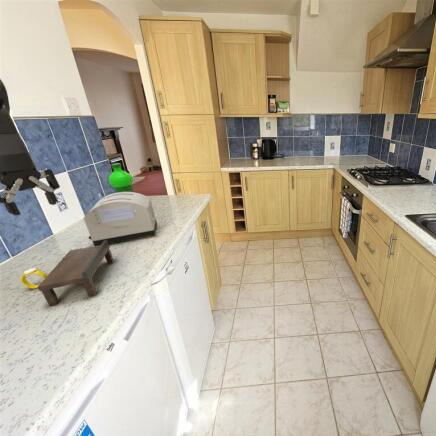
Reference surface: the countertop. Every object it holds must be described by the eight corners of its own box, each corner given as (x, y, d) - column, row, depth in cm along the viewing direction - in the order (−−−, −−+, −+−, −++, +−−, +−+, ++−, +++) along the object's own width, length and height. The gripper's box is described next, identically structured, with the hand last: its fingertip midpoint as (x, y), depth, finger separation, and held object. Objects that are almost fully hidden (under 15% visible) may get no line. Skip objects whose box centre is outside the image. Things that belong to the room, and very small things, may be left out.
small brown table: (48, 306, 66) (34, 282, 63) (77, 267, 83) (68, 246, 80) (96, 295, 69) (85, 272, 66) (114, 260, 87) (107, 239, 83)
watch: (53, 282, 76) (45, 266, 73) (47, 287, 73) (39, 271, 71) (31, 285, 75) (21, 269, 72) (24, 291, 72) (14, 274, 70)
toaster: (91, 249, 94) (73, 207, 87) (106, 225, 115) (93, 190, 108) (157, 236, 103) (146, 197, 96) (160, 216, 124) (151, 183, 117)
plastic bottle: (141, 204, 141) (128, 161, 131) (139, 210, 132) (125, 164, 122) (121, 207, 137) (106, 163, 127) (117, 213, 128) (101, 166, 118)
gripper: (33, 148, 71) (55, 200, 77) (-40, 156, 58) (-6, 217, 65) (49, 148, 69) (71, 202, 75) (-23, 156, 56) (11, 220, 63)
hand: (36, 209), depth 70 cm, fingers open, 8 cm apart
